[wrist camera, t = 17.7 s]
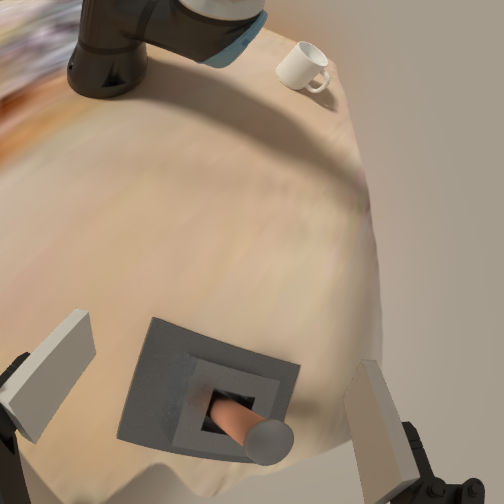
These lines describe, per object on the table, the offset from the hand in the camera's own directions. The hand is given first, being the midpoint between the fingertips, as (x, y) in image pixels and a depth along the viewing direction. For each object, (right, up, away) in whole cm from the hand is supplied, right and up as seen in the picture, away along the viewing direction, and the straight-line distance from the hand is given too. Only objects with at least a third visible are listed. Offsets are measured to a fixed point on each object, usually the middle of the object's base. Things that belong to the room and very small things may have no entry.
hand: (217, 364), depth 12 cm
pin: (-3, -16, +23) cm, 29 cm away
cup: (+12, +46, +48) cm, 67 cm away
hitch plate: (-4, -16, +24) cm, 30 cm away
